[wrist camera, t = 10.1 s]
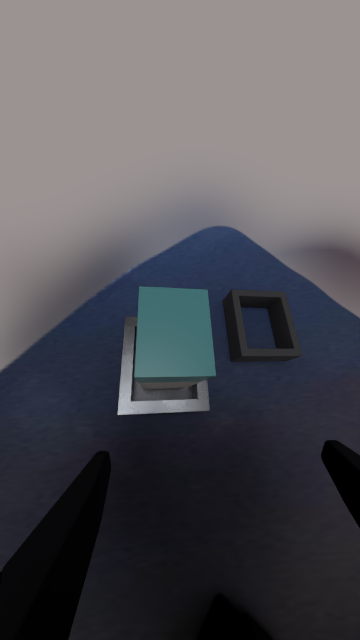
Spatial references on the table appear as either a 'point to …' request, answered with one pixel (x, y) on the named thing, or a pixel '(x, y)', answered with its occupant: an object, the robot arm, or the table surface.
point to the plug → (173, 338)
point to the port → (153, 400)
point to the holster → (279, 321)
